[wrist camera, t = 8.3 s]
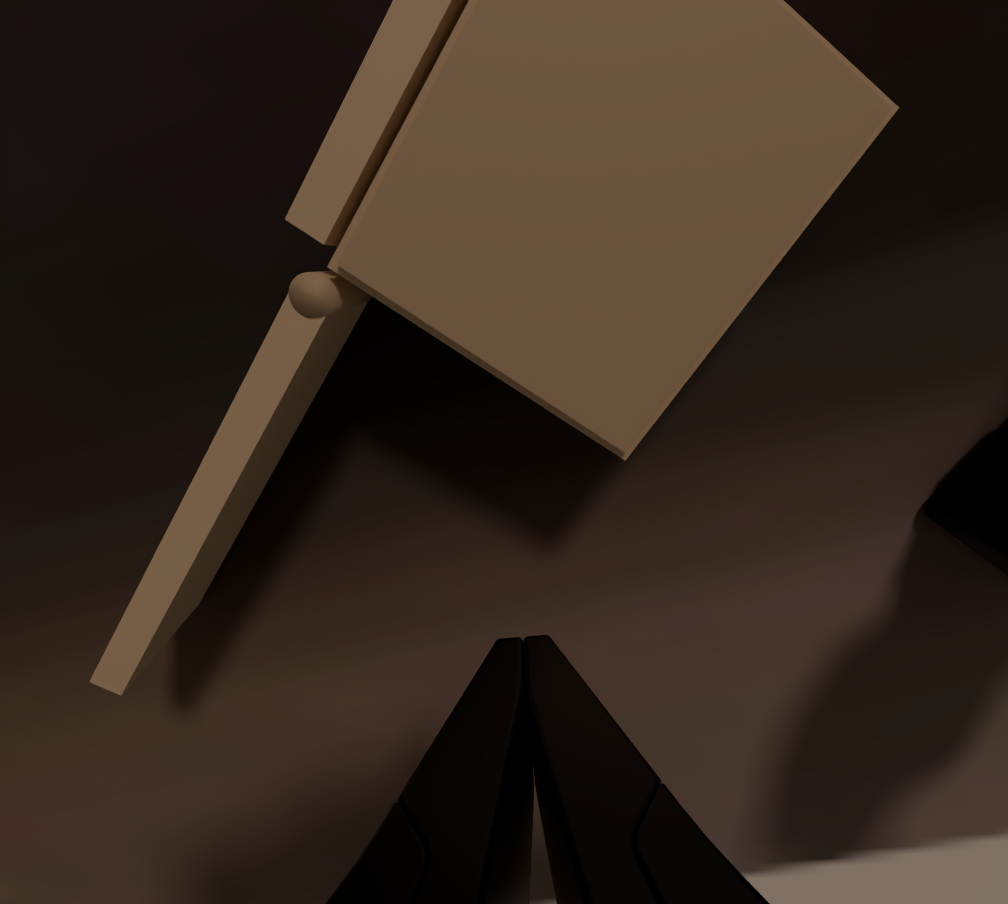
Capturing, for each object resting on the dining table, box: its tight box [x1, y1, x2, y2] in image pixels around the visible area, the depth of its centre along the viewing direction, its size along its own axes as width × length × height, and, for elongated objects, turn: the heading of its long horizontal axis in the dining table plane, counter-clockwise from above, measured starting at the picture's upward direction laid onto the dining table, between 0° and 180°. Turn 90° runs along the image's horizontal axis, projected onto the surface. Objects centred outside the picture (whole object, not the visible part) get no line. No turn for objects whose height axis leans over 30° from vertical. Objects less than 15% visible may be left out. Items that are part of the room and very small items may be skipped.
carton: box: [285, 0, 899, 460], centre depth 15 cm, size 10×10×5 cm
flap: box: [90, 271, 373, 695], centre depth 17 cm, size 14×1×5 cm, turn 147°
